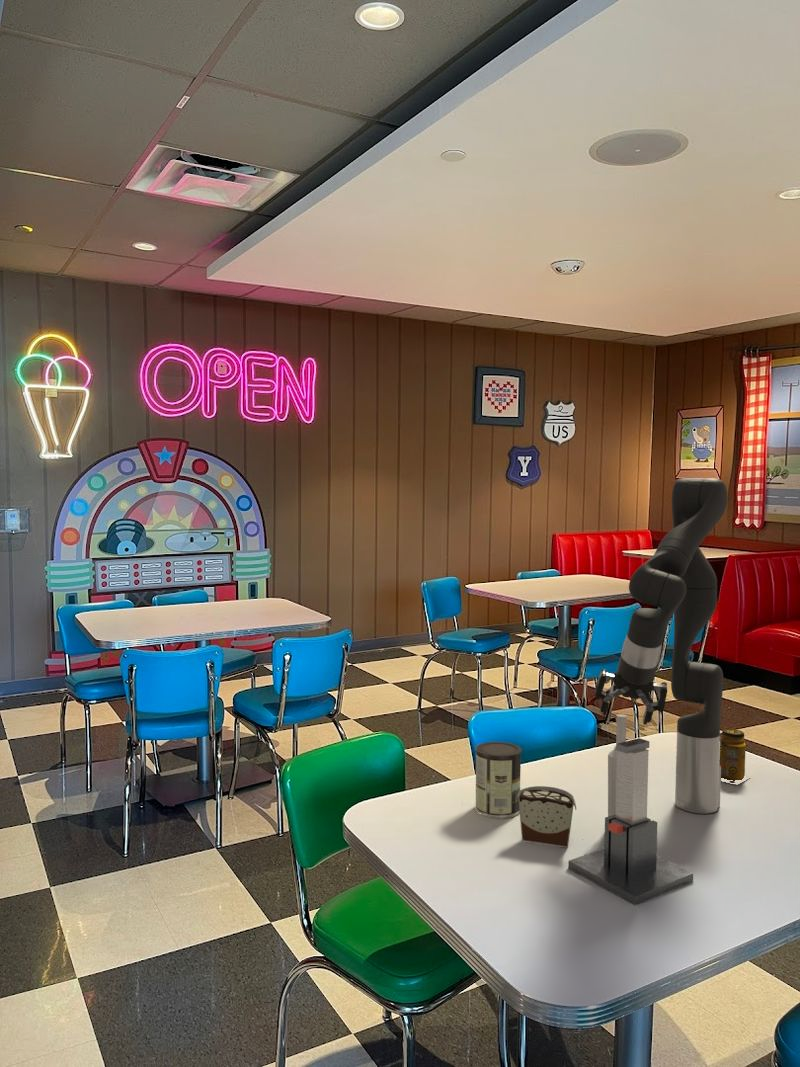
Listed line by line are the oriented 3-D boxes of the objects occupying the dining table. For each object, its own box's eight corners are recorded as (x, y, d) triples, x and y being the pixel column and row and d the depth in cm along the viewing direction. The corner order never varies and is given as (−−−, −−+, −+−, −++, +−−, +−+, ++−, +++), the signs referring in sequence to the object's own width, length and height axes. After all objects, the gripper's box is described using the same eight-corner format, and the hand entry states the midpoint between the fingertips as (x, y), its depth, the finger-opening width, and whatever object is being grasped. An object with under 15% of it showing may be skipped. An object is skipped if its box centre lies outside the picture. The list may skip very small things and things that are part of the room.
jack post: (632, 855, 152) (635, 736, 151) (650, 864, 149) (653, 742, 148) (609, 864, 149) (612, 742, 148) (627, 872, 145) (630, 748, 144)
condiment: (750, 778, 201) (752, 731, 200) (736, 786, 195) (738, 738, 194) (722, 770, 206) (723, 725, 206) (708, 778, 200) (709, 732, 200)
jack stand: (625, 848, 160) (626, 797, 160) (693, 881, 147) (694, 825, 146) (568, 868, 151) (569, 814, 151) (635, 904, 138) (636, 845, 137)
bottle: (632, 838, 165) (635, 719, 164) (607, 836, 166) (609, 718, 165) (630, 828, 170) (633, 713, 169) (605, 826, 171) (608, 711, 170)
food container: (579, 836, 166) (579, 789, 165) (575, 849, 160) (576, 800, 159) (520, 828, 170) (521, 782, 169) (514, 839, 164) (515, 792, 163)
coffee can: (503, 798, 186) (504, 738, 186) (529, 814, 177) (530, 751, 176) (466, 805, 182) (466, 744, 181) (490, 822, 172) (491, 758, 172)
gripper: (674, 653, 166) (657, 714, 173) (605, 639, 169) (591, 699, 176) (676, 674, 159) (658, 736, 167) (604, 659, 162) (590, 721, 169)
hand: (624, 717), depth 171 cm, fingers open, 8 cm apart
